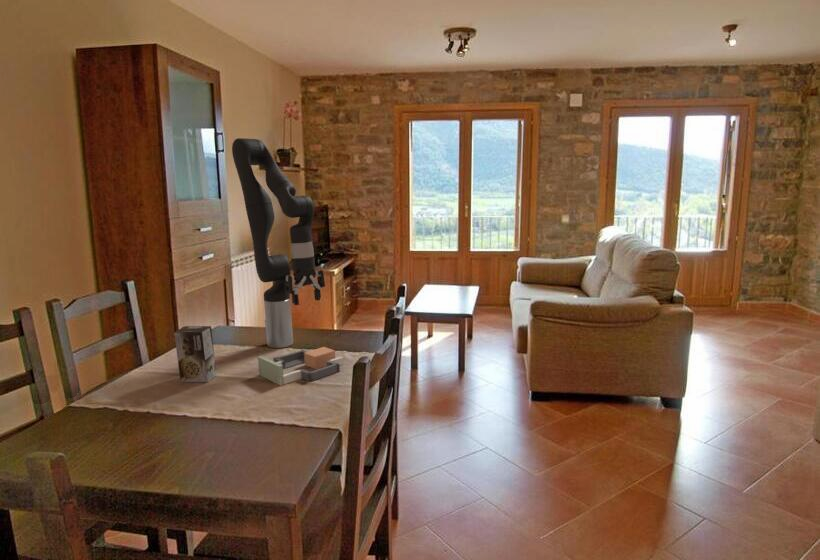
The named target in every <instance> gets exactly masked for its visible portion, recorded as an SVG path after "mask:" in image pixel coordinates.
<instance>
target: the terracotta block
mask: <svg viewBox="0 0 820 560" xmlns="http://www.w3.org/2000/svg"><path fill="white" fill-rule="evenodd" d="M335 358H336V350H334V349H331V348H330V347H329V348H328V347H327V346H321V347H319V348H316V349H312V350H309V351H307V352H305V353H304V359H305V363H304V366H305V365H306V367H308V366H309V368H310V367H311V369H313V368H314V369H313V370H315V369H316V370H318V368H319V369H321V368H324V367H327V363H326V361H328V360H332V359H335Z"/></svg>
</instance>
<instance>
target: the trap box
mask: <svg viewBox="0 0 820 560" xmlns="http://www.w3.org/2000/svg"><path fill="white" fill-rule="evenodd" d="M305 352H308V351H307V350H305V349H301V350H297V351H294V352H291V353H287V354H284V355H280V356H278V357H274V358H273V360H272V359H269V358H267V357H265V356H263V355H260V356H257V364H258V374H259V376H260V377H262V378H264V379H267V380H268V381H270V382H272V383H275V384H277V385H278V386H281V387H282V386H284V385H286V384H289V383H292V382H295V381H299V380H304V381H306V382H308V381H309V382H308V383H310V381H311V382H313V381H317V380H319V379H322V378H324V377H328V376H330V375H334V374H337V373H340V369H341V368H340V367H341V366H343V365H344V364H345V360H344V356H342V355H341V356H337V357H335V359H332V360H328V361H326V363H327V366H325V367H322V368H319V369H316V370H315V369H313V370H312V371H308V370H306V369H304V368H301V369H297V370H294V371H291V372H288V373H285V374H284V370H287V369H289V368H292V367H294V366H295V367H296V366H298V364H299V365H301V363H302V364H305V359H304V353H305Z"/></svg>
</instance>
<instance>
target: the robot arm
mask: <svg viewBox="0 0 820 560" xmlns="http://www.w3.org/2000/svg"><path fill="white" fill-rule="evenodd" d="M231 153H232V158H233V162H234V165H235V168H236V172H237V176H238V179H239V183H240V185H241V190H242V195H243V201H244V205H245V211H246V215H247V220H248V225H249V228H250V233H251V239H252V245H253V252H254V253H253V254H254V263H255V269H256V273H257V276H258V278H259V280H260V281H261V282H262V283H271V282H274V283H273V284H272V286H271V287H270V288H268V289H266V290H265V291H264V292H263V303H264V304H263V305H264V316H265V319H264V324H265V327H264V328H265V337H266V344H267V347H269V348H272V349H282V348H287V347H290V346H292V345H293V344H294V337H293V322H292V321H293V320H292V307H291V306H292V305H291V303H292V304H293V305H294V306H299V305H300V300H299V299H300V298H299V294H298V293H299V291H300V290H301V289H302V287H306V286H307V285H308V286H312V288H313V295H314V301H320V300H321V299H322V297H321V296H322V295H321V290H322V288H325V287H326V283H325V282H326V281H325V276H324V270H322V269H316V270H315V268H316V263H315V262H316V261H315V260H316V259H315V251H314V245H313V244H314V243H313V239H312V237H313V236H312V226H313V219H314V214H315V204H314V201H313V199H312V198H311V197H310V196H308V195H296V193H297V189H296V187H295V185H294V184H293V183H292V182H291V181H290V180H289V178H288V177H287V176H286V175H285V174H284V173H283V171H282V170H281V169H280V167H279V166H278V164H277V162H276V160H275V158H274V156H273V155H272V154H271V151H270V150H269V147H267V145H266V144H265V143H264V142H263V140H261V139H256V138H243V137H241V138H235V139H234V140H233V142H232V146H231ZM252 166H259V167H261V169H263V170H264V172H265V183H266V185H267V187H268V189H269V190H270V191H271V193H272V194H273V195H274V196H275V197H276V199H277V201H278V203H279V204H278V205H279V206H280V209H281V212H282V213H283V214H284V215H285V216H286V217H288V218H289V219H290V218H291V219H294V218H295V219H296V218H298V221H297V223H296V224H294V225H291V226H290V228H289V238H290V255H291V257H290V258H291V262H290V260H289V258H288V256H287V255H285V254H281V253H280V254H273V255H272V254H271V255H269V251H268V240H269V237H270V234H271V231H272V228H273V226H274V222H275V212H274V206H273V201H272V199H271V197H270V195H269V194H268V192H267V191H266V190H265V188H264V187H263V186H262V185H261V184H260V183H259V181H258V180H257V178H256V176H255V174H254V171H253V168H252ZM290 263H291V264H292V265H291V264H290ZM291 266H292V267H291ZM291 268H292V271H291ZM292 272H293V274H291V273H292ZM315 277H316V279H317V280H316V279H315ZM293 281H294V282H293ZM291 300H292V301H291Z"/></svg>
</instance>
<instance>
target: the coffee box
mask: <svg viewBox="0 0 820 560" xmlns="http://www.w3.org/2000/svg"><path fill="white" fill-rule="evenodd" d="M212 332H213V331H212V326H210V325H207V326H206V325H193V326H189V325H187V326H182V327H181V328H179V329H178V330H176V331H174V332H173V335H174V341H175V342H174V344H175V349H176V356H177V364H178V372H179V378H180V379H179V380H180V382H181V383H209V382H210V381H211V380H212V379H214V378H215V377H216V376H217V367H216V360H215V359H216V358H215V349H214V342H213V341H214V340H213V333H212Z"/></svg>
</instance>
